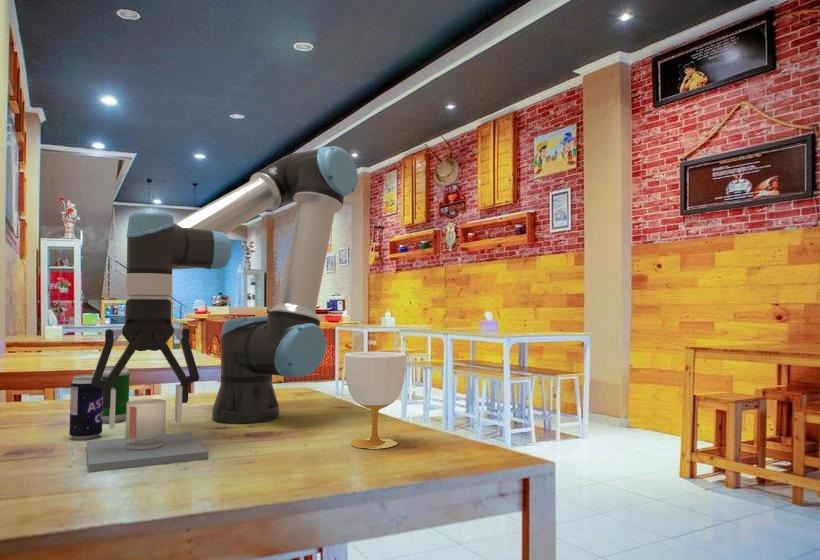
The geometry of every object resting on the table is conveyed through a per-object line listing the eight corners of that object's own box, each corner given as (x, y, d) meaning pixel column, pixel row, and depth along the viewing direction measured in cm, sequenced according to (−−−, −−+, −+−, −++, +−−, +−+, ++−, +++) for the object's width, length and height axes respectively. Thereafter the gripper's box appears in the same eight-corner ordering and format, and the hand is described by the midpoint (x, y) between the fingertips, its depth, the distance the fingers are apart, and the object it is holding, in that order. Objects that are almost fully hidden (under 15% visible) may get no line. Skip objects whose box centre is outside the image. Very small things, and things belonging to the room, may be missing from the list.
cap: (162, 431, 111) (163, 398, 111) (167, 437, 106) (168, 403, 106) (124, 434, 108) (125, 400, 108) (126, 441, 102) (127, 405, 103)
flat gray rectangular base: (190, 438, 119) (190, 424, 119) (207, 458, 103) (208, 442, 103) (86, 448, 110) (87, 433, 110) (88, 472, 94) (88, 454, 95)
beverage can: (88, 441, 116) (89, 378, 116) (62, 439, 117) (64, 377, 117) (108, 435, 121) (110, 374, 122) (83, 433, 122) (85, 374, 123)
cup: (418, 444, 115) (418, 354, 116) (373, 454, 107) (374, 357, 107) (375, 434, 123) (376, 350, 124) (330, 444, 115) (331, 353, 115)
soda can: (135, 419, 137) (136, 366, 138) (103, 425, 131) (104, 369, 132) (116, 416, 141) (117, 364, 142) (84, 421, 135) (85, 367, 136)
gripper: (210, 299, 117) (208, 415, 116) (76, 297, 106) (72, 426, 105) (218, 298, 110) (216, 422, 109) (76, 297, 99) (72, 434, 98)
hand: (145, 424), depth 107 cm, fingers open, 10 cm apart
